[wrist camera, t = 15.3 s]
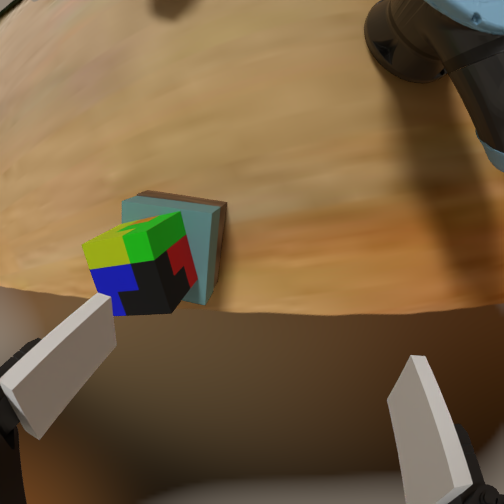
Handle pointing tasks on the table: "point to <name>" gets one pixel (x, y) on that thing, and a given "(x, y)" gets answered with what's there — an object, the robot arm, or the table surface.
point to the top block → (198, 234)
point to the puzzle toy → (143, 265)
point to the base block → (199, 201)
